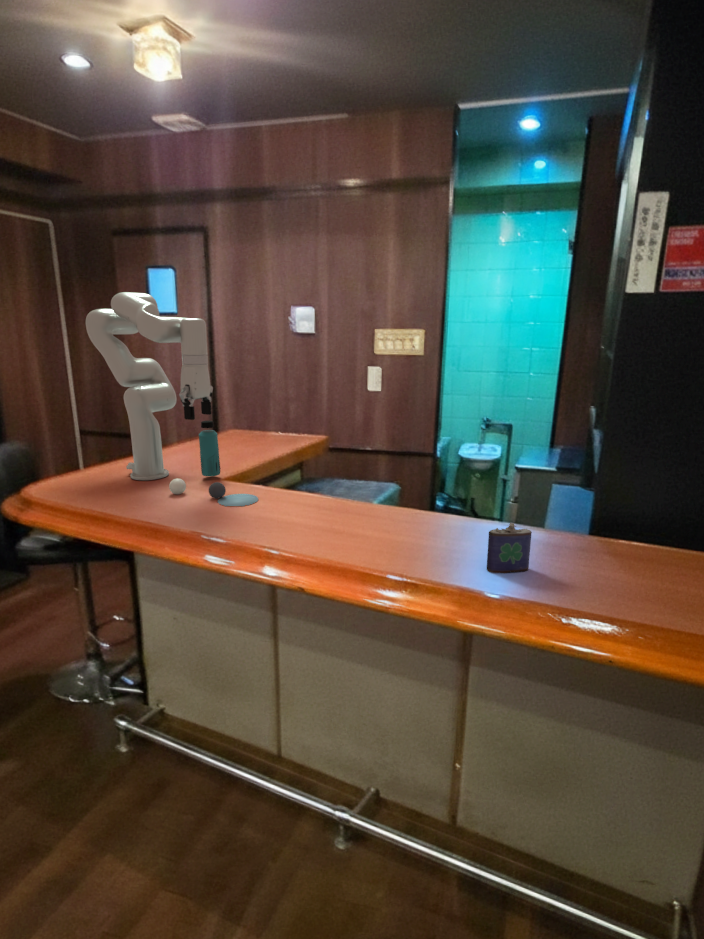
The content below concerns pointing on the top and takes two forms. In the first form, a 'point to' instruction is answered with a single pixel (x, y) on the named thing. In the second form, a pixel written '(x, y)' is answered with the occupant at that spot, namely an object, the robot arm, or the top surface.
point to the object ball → (217, 490)
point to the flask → (508, 550)
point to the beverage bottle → (209, 450)
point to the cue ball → (177, 486)
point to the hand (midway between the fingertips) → (198, 416)
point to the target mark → (238, 500)
